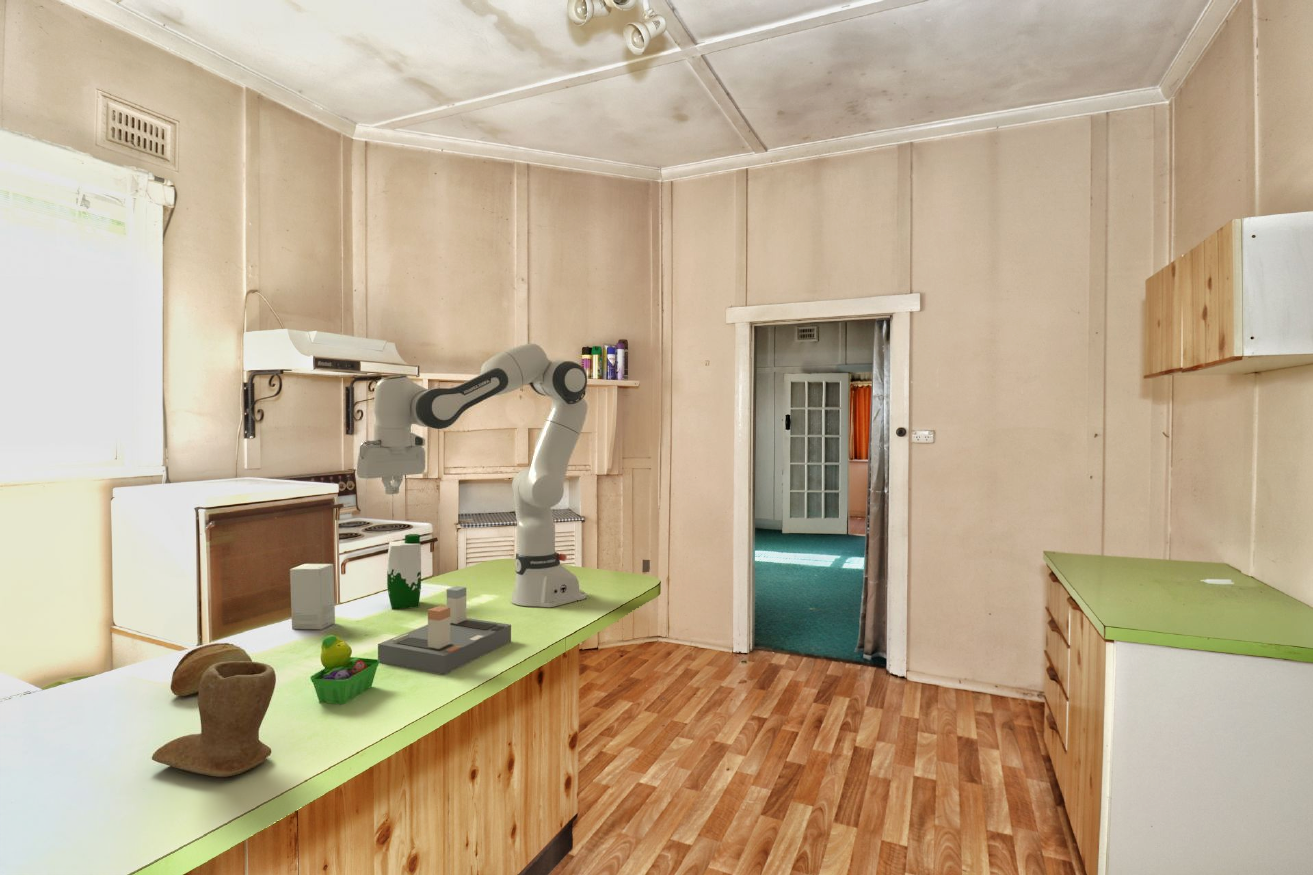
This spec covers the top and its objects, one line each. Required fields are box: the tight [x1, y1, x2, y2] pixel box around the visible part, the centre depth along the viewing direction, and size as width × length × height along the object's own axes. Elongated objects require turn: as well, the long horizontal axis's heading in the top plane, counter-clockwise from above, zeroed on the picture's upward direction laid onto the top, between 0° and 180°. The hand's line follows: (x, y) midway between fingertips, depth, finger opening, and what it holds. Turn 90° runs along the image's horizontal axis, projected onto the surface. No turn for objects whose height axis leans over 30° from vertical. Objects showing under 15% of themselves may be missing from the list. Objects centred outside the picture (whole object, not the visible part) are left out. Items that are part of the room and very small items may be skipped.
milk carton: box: [386, 533, 422, 610], centre depth 192 cm, size 9×9×20 cm
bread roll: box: [170, 642, 253, 697], centre depth 133 cm, size 10×15×8 cm, turn 156°
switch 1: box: [427, 605, 450, 649], centre depth 145 cm, size 4×3×8 cm
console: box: [377, 617, 512, 676], centre depth 155 cm, size 24×18×5 cm
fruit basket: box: [310, 634, 380, 705], centre depth 130 cm, size 11×9×11 cm
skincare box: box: [289, 563, 336, 631], centre depth 172 cm, size 8×7×16 cm
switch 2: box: [446, 585, 467, 624], centre depth 163 cm, size 4×3×8 cm
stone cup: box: [151, 661, 277, 778], centre depth 103 cm, size 15×12×15 cm
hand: (392, 494), depth 171 cm, fingers closed
